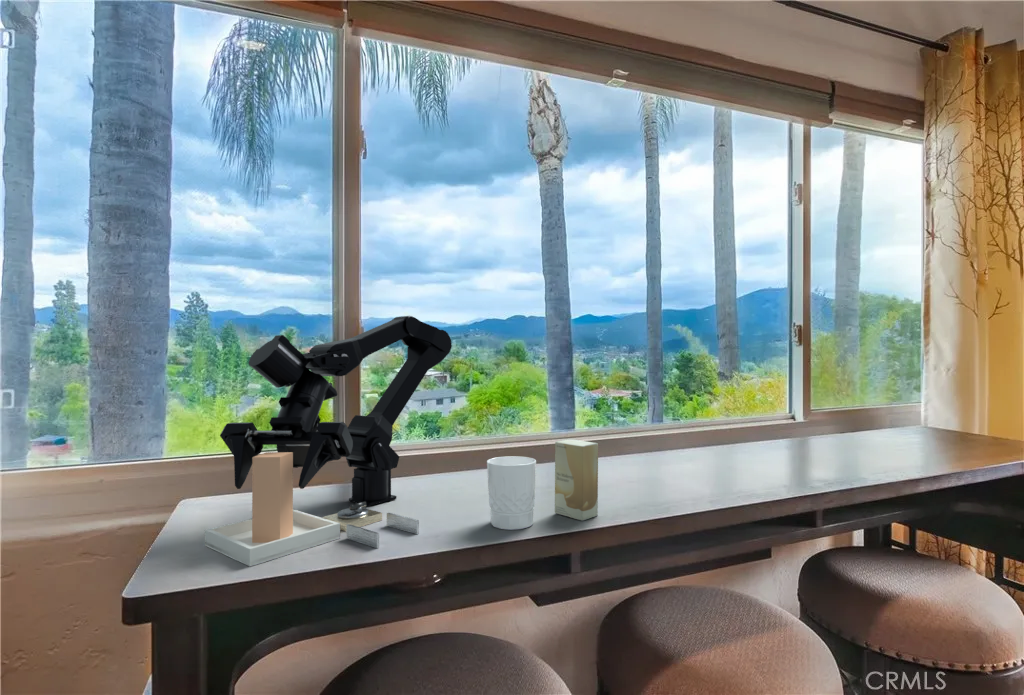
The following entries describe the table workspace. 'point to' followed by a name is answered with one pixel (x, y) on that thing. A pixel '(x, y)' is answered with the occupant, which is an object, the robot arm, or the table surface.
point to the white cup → (511, 491)
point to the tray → (240, 547)
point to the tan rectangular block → (272, 496)
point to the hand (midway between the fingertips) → (268, 487)
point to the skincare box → (576, 479)
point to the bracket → (362, 516)
